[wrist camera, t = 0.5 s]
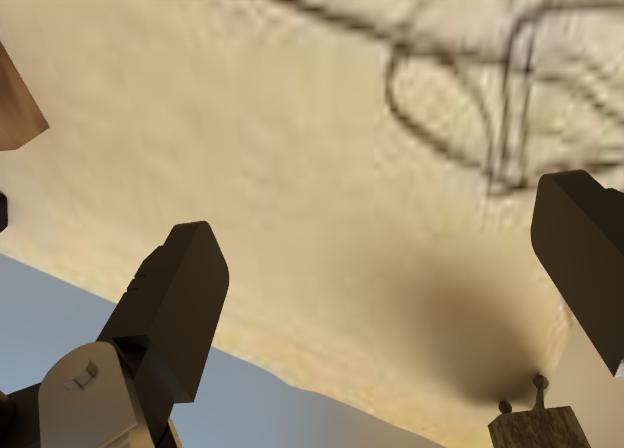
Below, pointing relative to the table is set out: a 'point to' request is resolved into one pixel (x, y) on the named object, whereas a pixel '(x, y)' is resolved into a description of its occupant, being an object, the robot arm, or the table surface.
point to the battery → (3, 213)
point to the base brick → (16, 108)
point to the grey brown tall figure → (537, 425)
